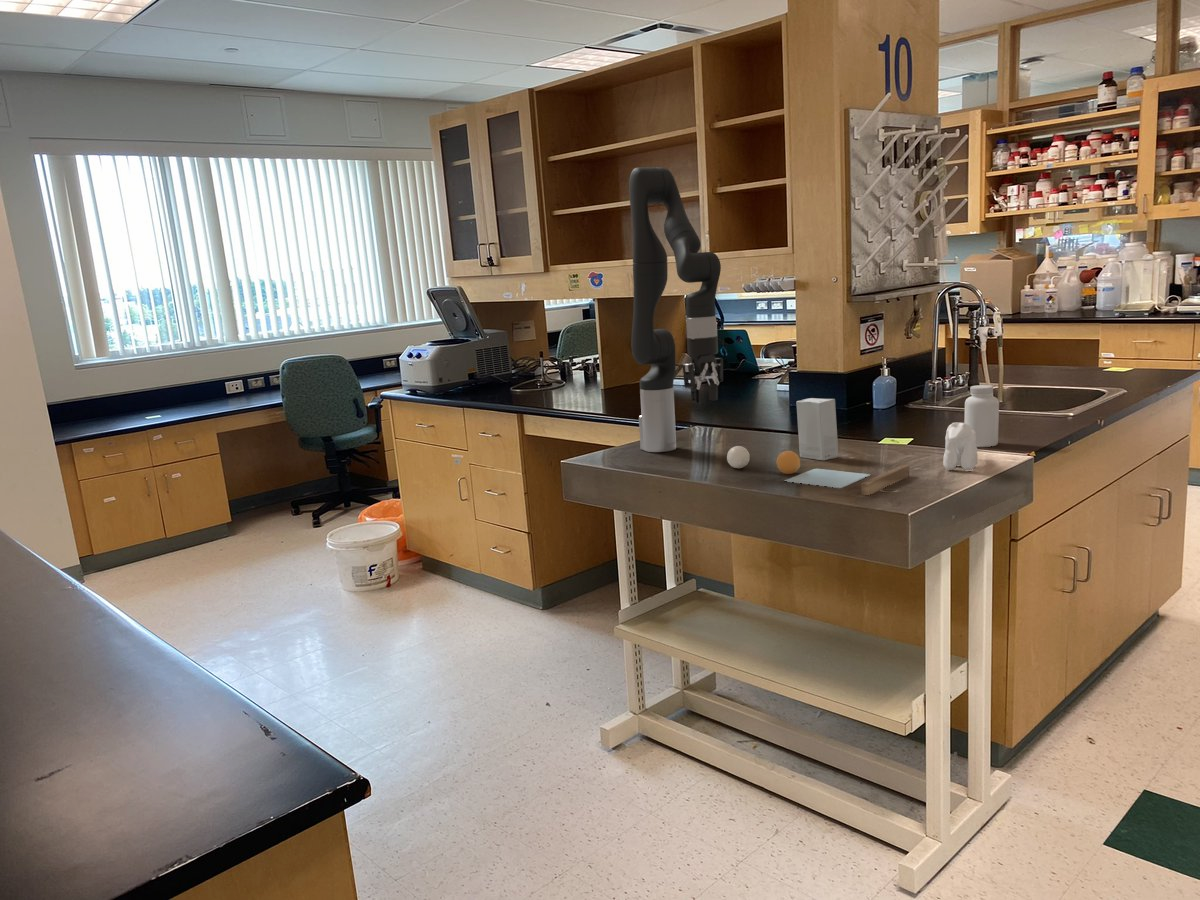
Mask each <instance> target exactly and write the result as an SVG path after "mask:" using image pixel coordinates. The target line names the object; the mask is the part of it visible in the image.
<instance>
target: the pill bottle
mask: <svg viewBox="0 0 1200 900" xmlns="http://www.w3.org/2000/svg"><path fill="white" fill-rule="evenodd" d="M969 389H970V391H969V393H970V395H971V396H969V397H967V398H966V399H965V401H964V421H963V423H966V424H968V425H969V426H970V427H971V429H972V430H974V431H975V433H976V441H975V444H976V447H977V448H990V447H991V446H992V447H995V446H997V445H998V441H999V421H1000V420H999V419H1000V418H999V415H1000V400H999V399H998V397H995V396H993V395H994V386H993V385H989V384H981V385H980V384H979V385H972V386H970V388H969Z"/></svg>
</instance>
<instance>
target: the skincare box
mask: <svg viewBox="0 0 1200 900" xmlns="http://www.w3.org/2000/svg"><path fill="white" fill-rule="evenodd" d="M795 403H796V404H795V405H796V415H797V416H796V418H797V431H798V433H797V434H798V447H799V458H804V459H810V460H817V461H827V460H832V459H836V458H838V457H839V443H838V429H837V427H838V426H837V411H836V410H837V409H836V399H835V398H815V397H810V398H804V399H801V400H797V401H796V402H795Z"/></svg>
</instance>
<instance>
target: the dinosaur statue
mask: <svg viewBox="0 0 1200 900" xmlns="http://www.w3.org/2000/svg"><path fill="white" fill-rule="evenodd" d="M944 440H945V445H944V446H945V447H944V448H945V450H944V454H943V457H942V458H943V459H942V460H943V463H942V464H943V467H944V468H945V469H946V470H947V469H949V470H951V471H953V470H955V469H956V466H957V465H960V466H961V469H962V470H963V471H965V470H972V469H974V470H975V467H976V466H977V465H978V447H976V444H975V441H976V433H975V431H974V430H972V429H971V427H970V426H969V425H968V424H966V423H964V422H951V424H949V425H948V426H947V429H946V433H945V438H944ZM975 465H976V466H975ZM957 467H958V466H957ZM949 470H948V471H949Z"/></svg>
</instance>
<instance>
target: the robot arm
mask: <svg viewBox="0 0 1200 900" xmlns="http://www.w3.org/2000/svg"><path fill="white" fill-rule="evenodd" d="M628 181H629V183H628V191H629V192H628V193H629V195H628V196H629V205H630V214H631V216H630V217H631V226H632V279H633V281H632V282H633V314H632V326H631V327H632V329H631V342H630V346H631V354H632V356H633V359H634V361H635V362H636V363H637V364H638V365H641V366H646V365H650V369H649V371H648V372H647V373H646V374H644V375H643V376H642V377H641V378H640V379H639V394H640V396H639V397H640V409H641V410H640V411H641V412H640V414H641V415H639V416H638V426H639V430H638V431H639V445H640V447H639V448H640V450H641V449H642V450H643V451H644V452H649V453H661V452H662V453H663V452H671V451H675V450H676V449H677V437H676V435H677V434H676V433H677V432H676V415H675V414H676V413H675V412H676V411H675V392H674V381H675V377H676V355H677V354H676V343H675V339H674V336H673V334H672V332H670V331H669V330H668V329H666V328H657V329H654V325H655V323H654V320H655V319H654V318H655V312H656V309H657V306H658V304H659V302H660V300H661V297H662V296H663V293H664V292H665V289H666V286H667V282H668V273H669V272H668V271H669V270H668V254H667V252H666V249H665V247H664V245H663V243H662V242H661V240H660V238H659V236H658V235H657V233H656V232H655V230H654V228H653V226H652V224H651V220H650V215H649V208H648V207H649V205H661V204H662V205H663V206H664V207H665V209H666V210H667V212H666V217H665V220H664V224H663V232H664V236H665V239H666V240H667V243H668V244H669V246H670V248H671V250H672V251H673V255H674V259H675V267H676V273H677V275H678V277H679V279H680V280H682V282H685V283H689V284H692V283H701V286H700V288H699V289H698V290H697V291H694V292H691V293H689V294H687V295H686V298H685V307H686V308H685V309H686V311H685V312H686V325H685V326H686V328H685V330H686V348H687V349H686V350H687V351H686V352H687V355H688V356H690V362H689V363H683V364H682V372H683V373H682V375H683V384H684V388H685V389H689V390H690V400H691V404H692V405H694V406H698V405H702V401H701V400H702V399H701V389H700V388H701V385H702V382H704V380H706V381H707V384H708V400H709V401H714V402H716V401H718V399H719V387H718V386H719V385H720V383H721V382H723V381H724V358H722V357H716V356H715V355H718V353H719V342H718V323H717V318H716V295H717V289H718V285H719V280H720V277H721V271H722V267H721V266H722V265H721V259H720V257H719V256H718V255H717V254H716V253H714V252H712V251H704V252H699V251H700V250H701V247H702V246H701V245H702V244H701V240H700V238H699V236H698V234H697V232H696V230H695V229H694V227H693V225H692V224H691V222H690V219H689V218H688V215H687V213H686V210H685V207H684V204H683V200H682V197H681V194H680V191H679V188H678V185H677V182H676V180H675V177H674V175H673V174H672V171H671V170H670V169H668V168H665V167H656V166H655V167H653V166H652V167H647V166H646V167H635V168H633V169H632V171H631V173H630V175H629V180H628ZM689 381H690V382H689Z"/></svg>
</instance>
